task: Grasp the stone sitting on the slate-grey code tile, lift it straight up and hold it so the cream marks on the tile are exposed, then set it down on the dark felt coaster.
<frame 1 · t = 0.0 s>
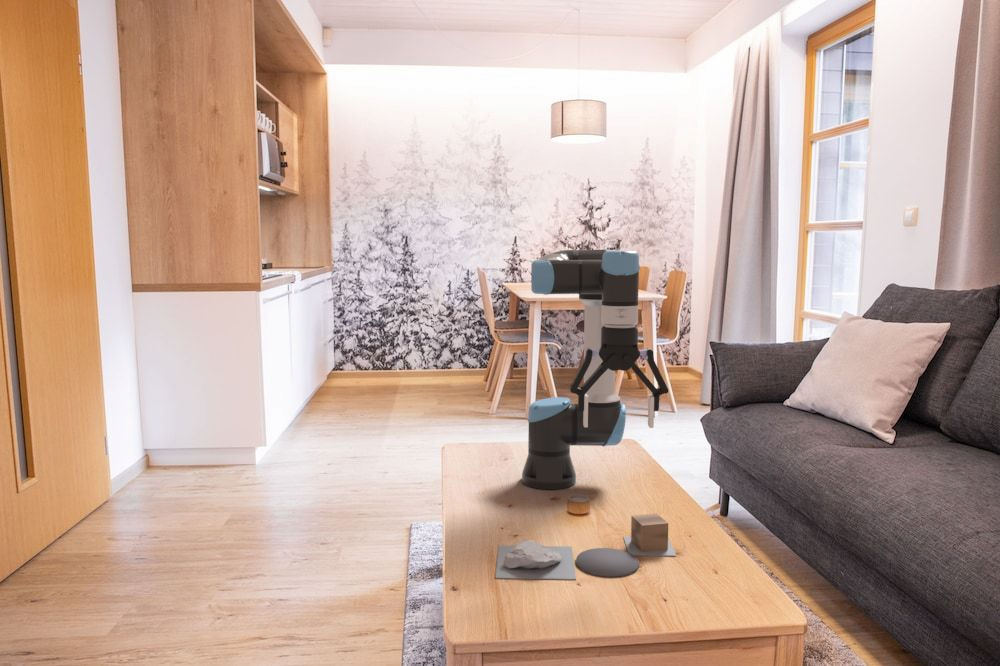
hand: (618, 426, 155), 28 cm above the table, fingers open, 13 cm apart
walnut block: (649, 545, 162), resting on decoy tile
stone: (535, 562, 154), on the table, touching code tile
code tile: (535, 562, 154), on the table
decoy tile: (649, 546, 162), on the table
coaster: (607, 563, 154), on the table
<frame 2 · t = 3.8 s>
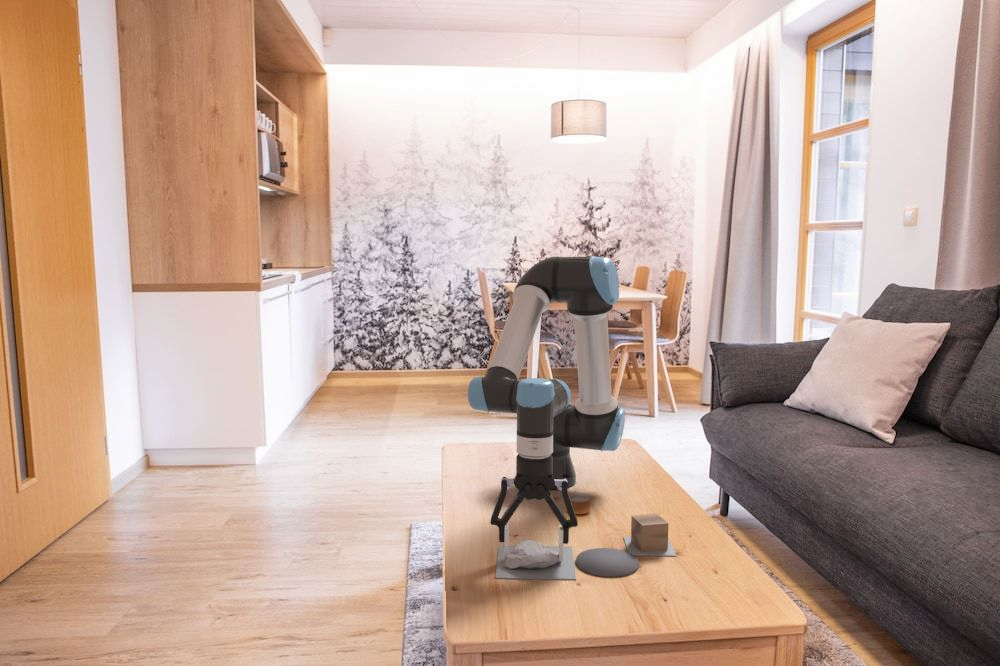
hand: (533, 557, 154), 1 cm above the table, fingers closed on stone, 11 cm apart
stone: (535, 562, 154), on the table, touching code tile, gripper
everything else where it was.
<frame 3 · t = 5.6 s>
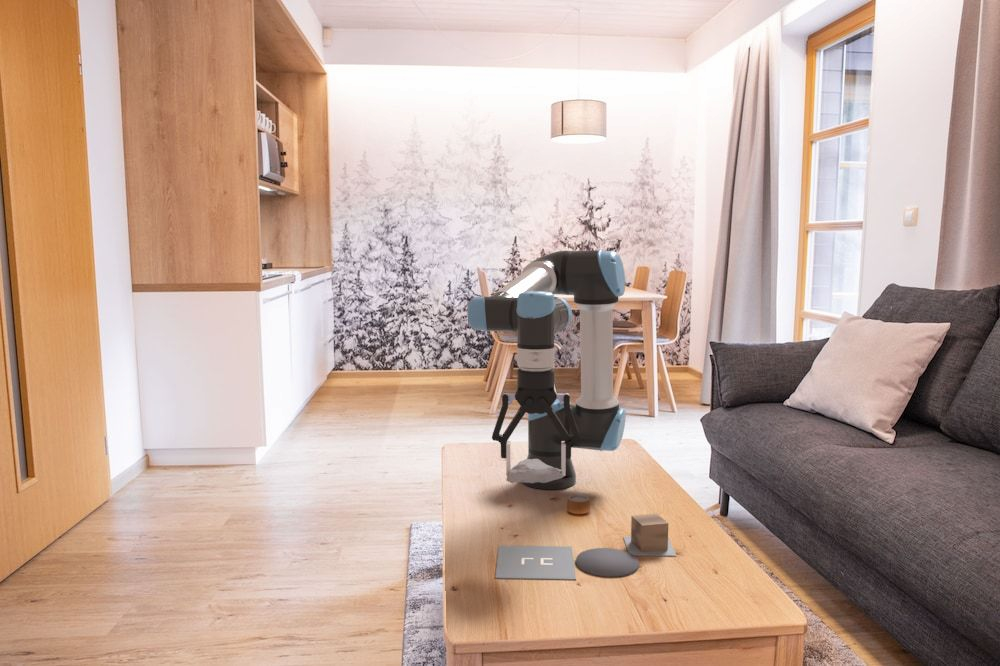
hand: (535, 473, 152), 19 cm above the table, fingers closed on stone, 11 cm apart
stone: (538, 478, 152), point 18 cm above the table, touching gripper
everything else where it was.
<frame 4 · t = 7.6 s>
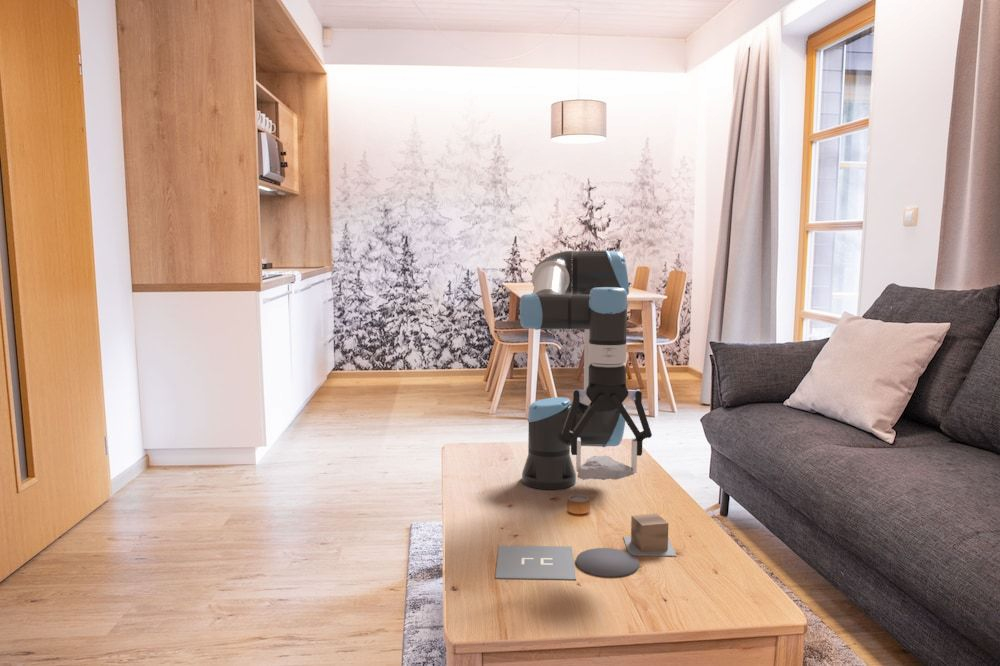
hand: (606, 470, 151), 20 cm above the table, fingers closed on stone, 11 cm apart
stone: (608, 475, 151), point 19 cm above the table, touching gripper
everything else where it was.
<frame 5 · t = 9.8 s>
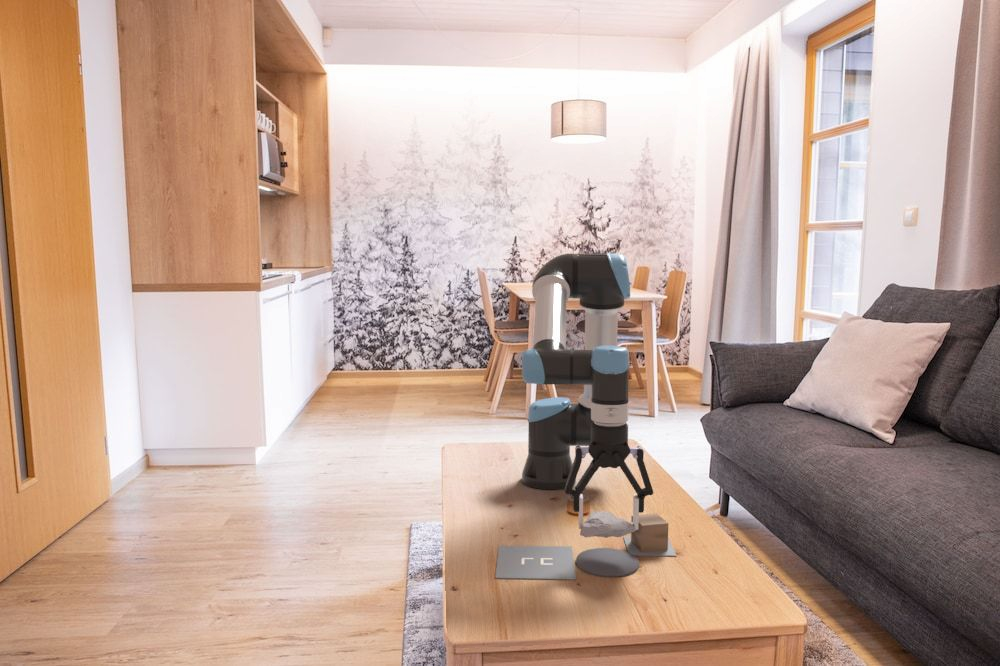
hand: (608, 526, 153), 8 cm above the table, fingers closed on stone, 11 cm apart
stone: (610, 531, 153), point 7 cm above the table, touching gripper
everything else where it was.
when the fingers open (3 cm above the table, at t = 11.9 s): stone drops 1 cm, resting on coaster.
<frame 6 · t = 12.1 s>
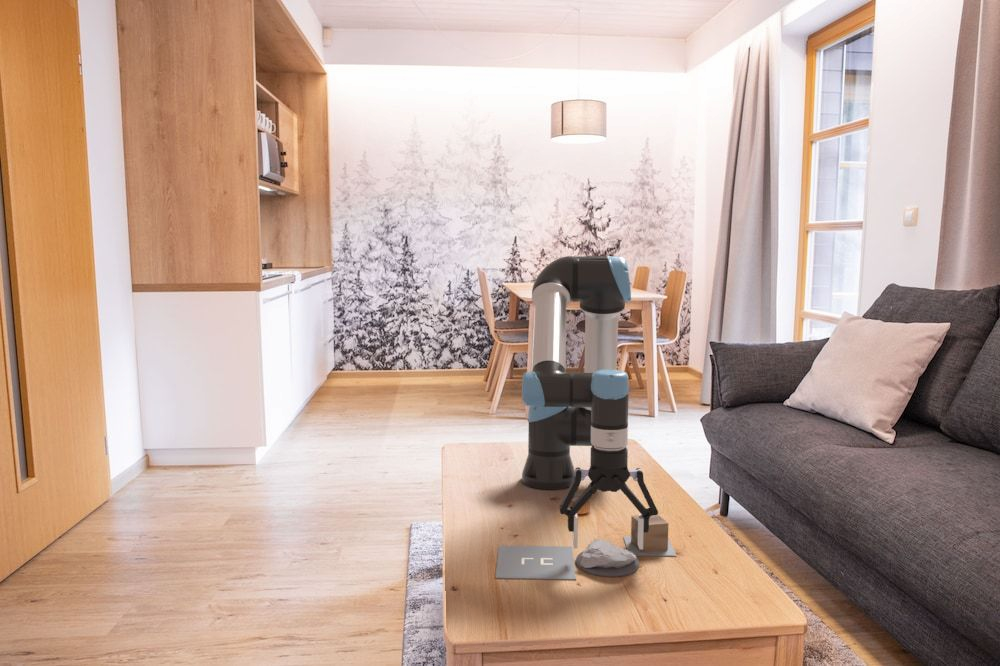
hand: (607, 546, 153), 4 cm above the table, fingers open, 13 cm apart
stone: (609, 561, 154), resting on coaster
everything else where it was.
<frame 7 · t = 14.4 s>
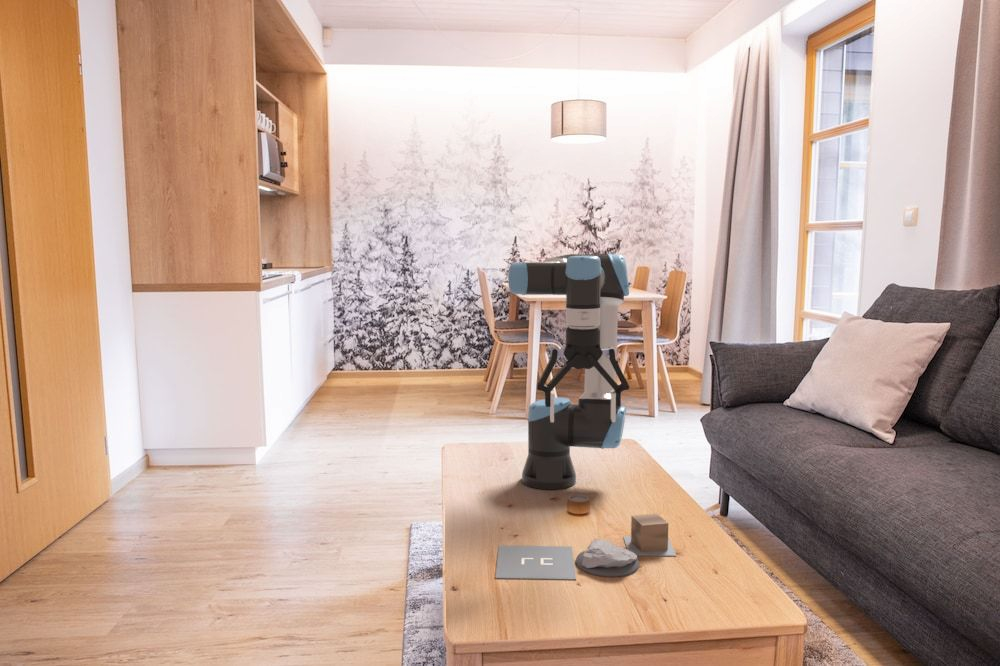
hand: (582, 420, 165), 27 cm above the table, fingers open, 13 cm apart
nothing on the table moved.
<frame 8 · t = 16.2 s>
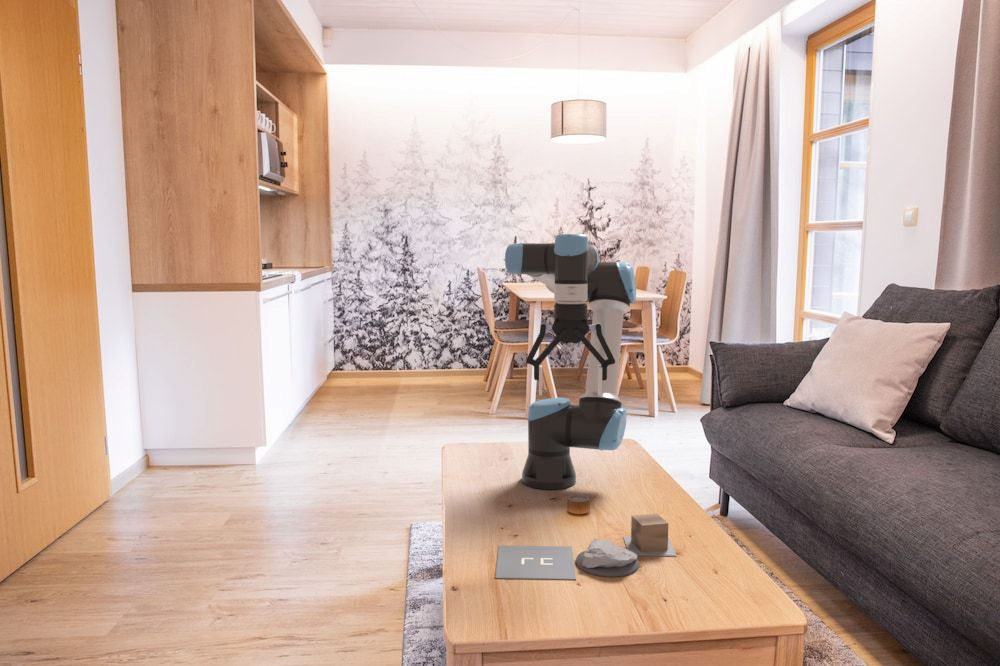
hand: (570, 394, 170), 32 cm above the table, fingers open, 13 cm apart
nothing on the table moved.
at the end: stone 0.8 cm from the coaster (horizontally); stone touching coaster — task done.
